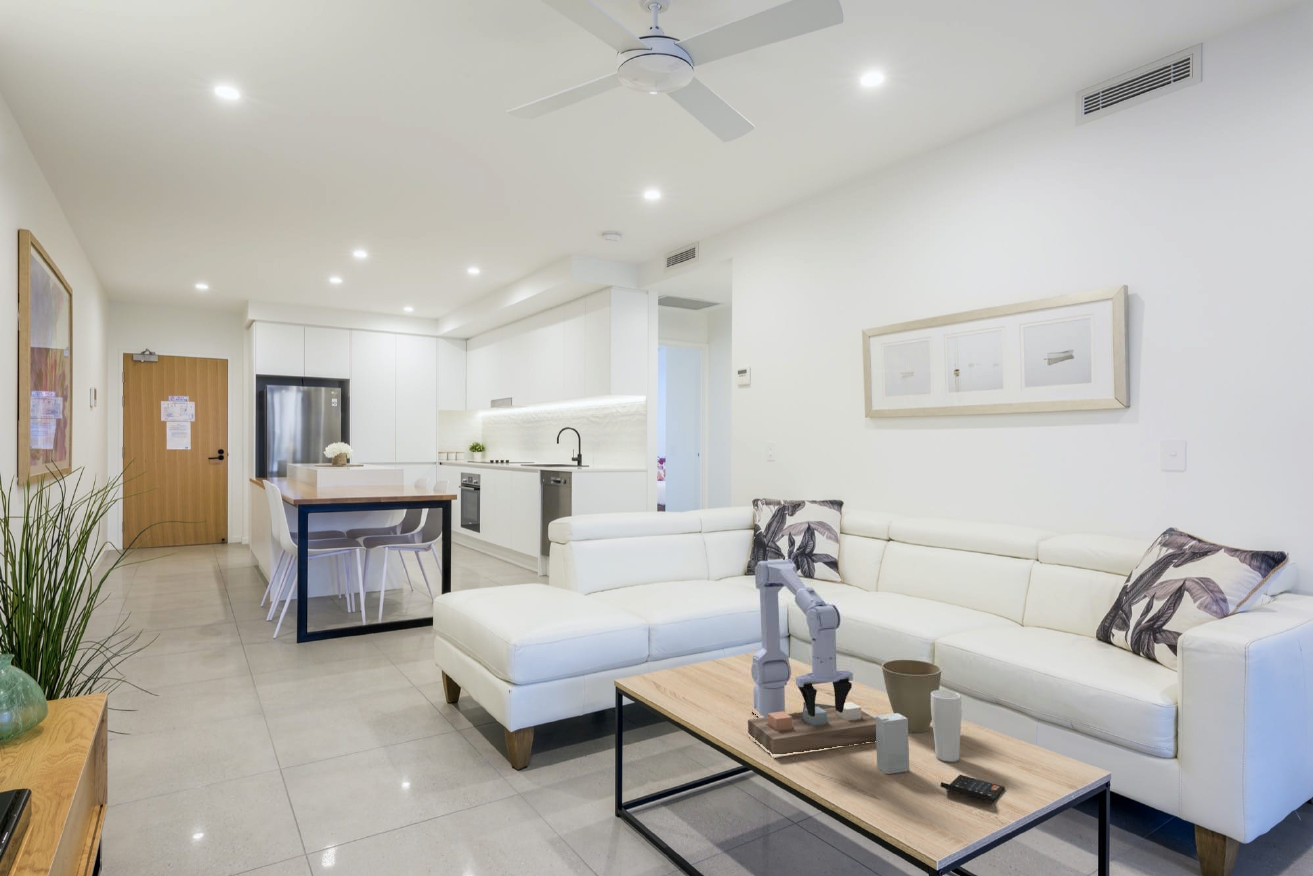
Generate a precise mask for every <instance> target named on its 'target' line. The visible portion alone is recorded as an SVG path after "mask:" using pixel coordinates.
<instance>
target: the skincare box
mask: <svg viewBox="0 0 1313 876" xmlns="http://www.w3.org/2000/svg"><path fill="white" fill-rule="evenodd" d="M875 718H876V742H875V743H876V768H878V769H879V770H880V771H881V772H882V773H884V774H886V775H891V774H899V773H905V772H910V749H909V747H910V746H909V744H910V743H909V732H908V719H907V718H906V717H904V716H902V715H900V714H898V713H888V714H880V715H879V714H877V715H875Z"/></svg>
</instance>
